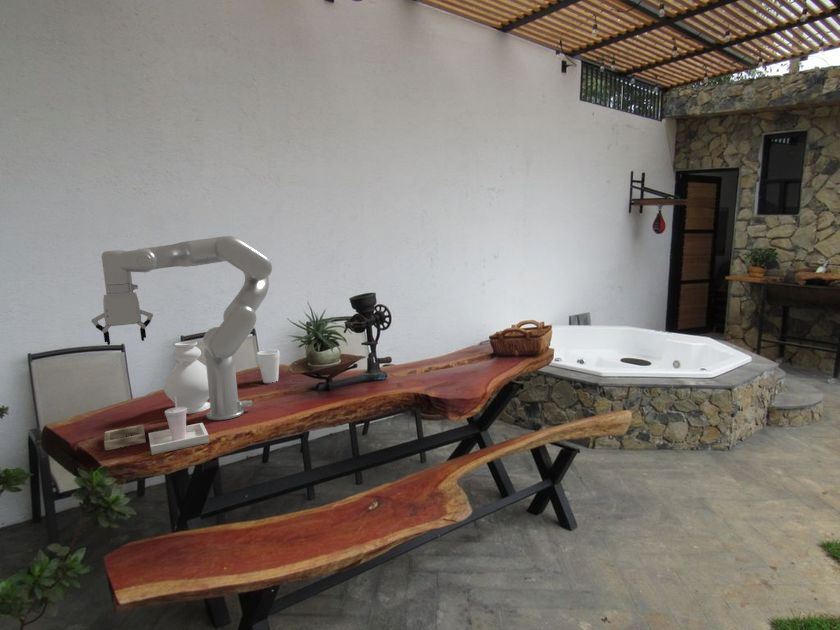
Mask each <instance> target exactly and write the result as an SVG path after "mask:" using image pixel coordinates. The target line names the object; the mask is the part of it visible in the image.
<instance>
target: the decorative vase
mask: <svg viewBox="0 0 840 630" xmlns="http://www.w3.org/2000/svg"><path fill="white" fill-rule="evenodd" d="M196 345H198V341H195V340H186V341H185V340H184V341H179V342H176V343H174V347H176V350H174V351H173V354H172V357H173V359H175V361H177V363H176V364H175V366H174V367H173V368H172V369H170V372H169V373H168V375H167V376H166V378H165V380H164V383H163V390H164V394H165V395H166V397H167V398H168V399H170V401H172V402H173V403H174V404H175V400H174V396H176V400H177V407H186V408H187V412H186V415H189V414H196V413H197V414H198V413H201V412H205V411H206V410H209V409H210V401H209V402H208V400H210V399H209V389H208V379H207V369H206V364H204V363H203V362H201V361H199V360H198V359H199V357H201V355H202V351H201V349H200V348H199V347H197V346H196Z"/></svg>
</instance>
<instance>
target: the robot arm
mask: <svg viewBox="0 0 840 630" xmlns="http://www.w3.org/2000/svg"><path fill="white" fill-rule="evenodd" d="M101 261H102V262H101V263H102V271H103V278H104V279H103V280H104V286H105V292H106V293H105V294H103V302H102V303H103V304H102V305H103V312H102V313H100V314H99V315H97V316H96V317H94V318H92V319H91V323H92V324H93V325H94V327H95V328H96V329H97V330H98V331H101V333H103V339H104V343H107V346H110V345H111V338H110V331H109V329H110V328H111V327H116V326H127V325H134V324H135V325H138V326H140V328H139V331H140V339H141V342H145V338H147V333H146V328H147V327H148V326H149V325H150V323H151V322H152V319H153V317H154V313H151V312H148V311H146V310H143V309H141V308H140V302H139V299H138V295H137V292H135V291H134V290H138V289H139V286H138V284H134V283H133V279H132V273H149V272H151V271H154V270H160V269H166V268H177V267H179V268H180V267H183V268H185V267H187V268H188V267H189V268H190V267H197V266H202V265H209V264H215V263H221V262H227V263H229V264H230V265H232V266H233V267H235V268H236V269H238V270H240V271H241V272H242V273H243V275H244V282H243V285H242V287H241V289H240V290H239V291H238V293H237V295H236V296H235V297H234V298H233V299H232V301H231V302H230V304H229V305H228V306H226V308H225V310H224V312H223V316H222V317H223V321H222V323H220V325H219V326H216V327H215V326H214V327H212V328H209V329H208V330H207V331H206V332H205V334H204V335H203V338H202V347H203V353H204V359H205V366H206V369H207V379H208V389H209V399H208V400H209V403H210V408H209V409H210V410H208V412H207V413H206V419H208V420H210V421H223V420H224V421H225V420H230V419H235V418H237V417H240V416H242V415H243V414H244V413H245V412H244V410H245V409H244V408H245V407H250V406H251V407H252V406H253V401H252V400H247V399H245V400H240V399H239V394H238V384H237V383H238V382H237V372H236V370H237V369H236V361H235V360H236V359H235V354H236V353H237V352H238V350H239V349H240V348H241V346H242V345H243V343H244V342H245V341H246V340H247V338H248V337H249V335H250V334H251V332H253V329H254V328H255V326H256V323H257V313H256V312H257V311H258V309H259V307H260V306H261V304H263V301H264V300H265V298H266V296H267V294H268V291H269V288H270V287H269V284H270V280H269V276H270V275H271V273H272V272H273V265H272V261H270V259H269V258H268V257H267V256H266V255H263V254H262V253H260V252H259V251H257V250H256V249H254V248H253V247H252V246H250V245H248V244H247V243H245V242H243V241H242V240H241V239H239V238H237V237H235V236H233V235H225V236H216V237H209V238H202V239H200V238H199V239H193V240H186V241H181V242H177V243H172V244H168V245H167V244H166V245H160V246H159V245H158V246H152V247H151V246H150V247H144V248H137V249H134V250H133V249H132V250H121V249H120V250H105V251H103V252H102V254H101ZM142 315H143V316H145V317H147V318H146V320H145V321H144V322H143V321H142ZM102 319H104V322H105V325H104V326H102V324H100V323H99V321H100V320H102Z"/></svg>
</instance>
